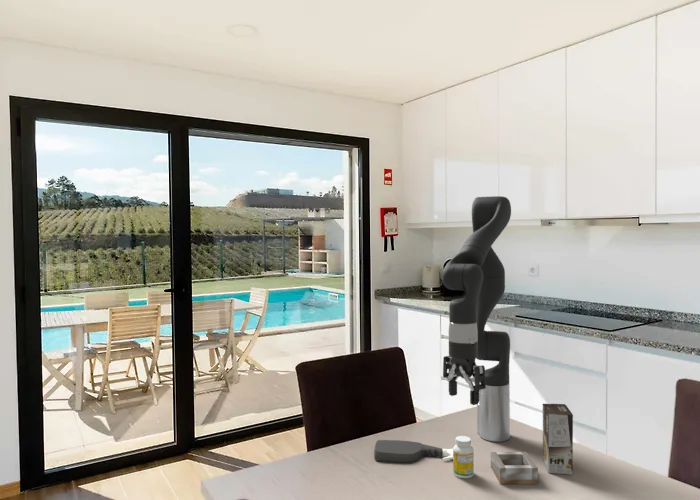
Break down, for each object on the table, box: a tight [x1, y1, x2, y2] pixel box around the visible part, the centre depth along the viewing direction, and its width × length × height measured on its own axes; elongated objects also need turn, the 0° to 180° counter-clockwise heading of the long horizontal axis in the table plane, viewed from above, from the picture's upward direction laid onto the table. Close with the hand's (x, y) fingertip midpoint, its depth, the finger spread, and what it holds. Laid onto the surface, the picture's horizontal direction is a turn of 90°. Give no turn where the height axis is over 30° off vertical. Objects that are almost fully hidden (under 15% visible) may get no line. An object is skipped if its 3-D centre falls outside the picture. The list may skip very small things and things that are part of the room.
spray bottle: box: [373, 439, 453, 464], centre depth 149 cm, size 3×11×24 cm
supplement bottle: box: [452, 435, 475, 479], centre depth 137 cm, size 5×5×10 cm
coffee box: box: [542, 403, 574, 476], centre depth 140 cm, size 9×6×16 cm
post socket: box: [490, 451, 539, 485], centre depth 136 cm, size 10×10×4 cm
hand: (463, 399), depth 136 cm, fingers open, 8 cm apart
